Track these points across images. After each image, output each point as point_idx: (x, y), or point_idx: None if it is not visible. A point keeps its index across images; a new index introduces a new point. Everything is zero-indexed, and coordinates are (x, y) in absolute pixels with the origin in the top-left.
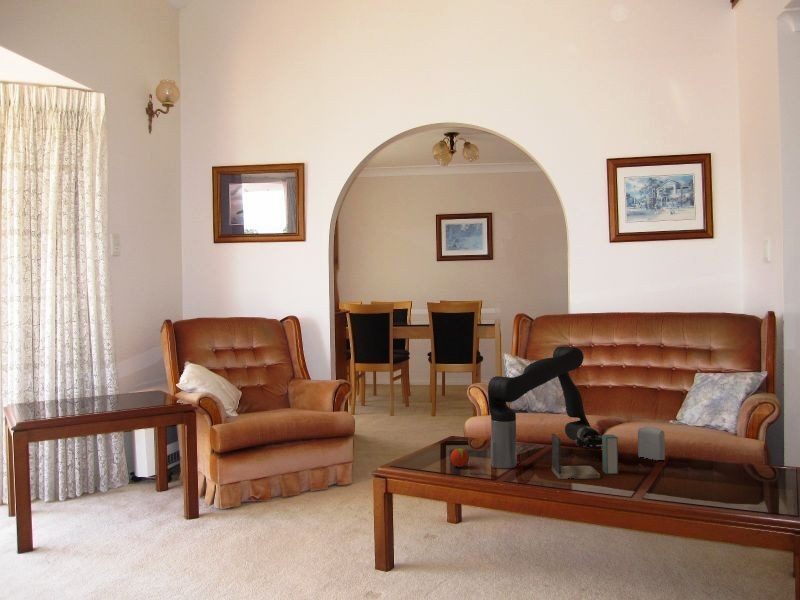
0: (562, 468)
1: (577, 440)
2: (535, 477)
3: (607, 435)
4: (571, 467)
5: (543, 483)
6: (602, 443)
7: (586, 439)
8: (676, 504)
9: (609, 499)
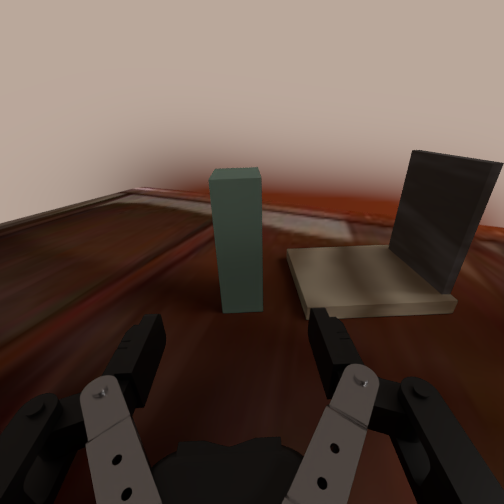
0: (403, 281)
1: (453, 428)
2: None
3: (242, 174)
4: (375, 289)
5: None
6: (261, 215)
7: (346, 412)
8: None
9: (288, 204)
